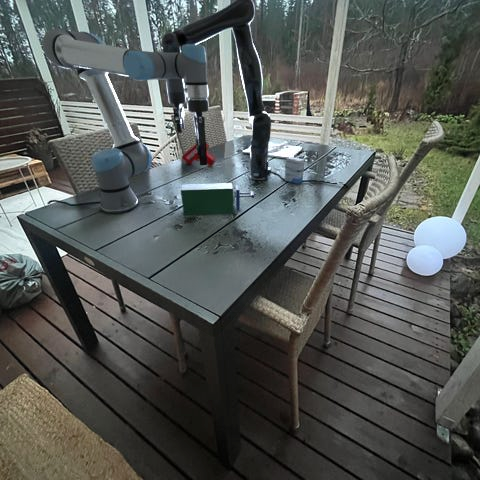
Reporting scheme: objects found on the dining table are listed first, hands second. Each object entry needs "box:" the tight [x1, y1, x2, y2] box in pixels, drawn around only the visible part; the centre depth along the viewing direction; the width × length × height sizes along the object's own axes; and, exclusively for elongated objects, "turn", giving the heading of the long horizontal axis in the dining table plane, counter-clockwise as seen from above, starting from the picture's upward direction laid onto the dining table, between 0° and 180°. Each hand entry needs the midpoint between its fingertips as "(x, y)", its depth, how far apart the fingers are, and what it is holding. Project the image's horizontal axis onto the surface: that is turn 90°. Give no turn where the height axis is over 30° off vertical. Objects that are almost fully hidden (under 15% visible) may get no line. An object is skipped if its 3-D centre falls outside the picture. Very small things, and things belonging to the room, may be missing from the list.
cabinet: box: [180, 182, 234, 216], centre depth 112 cm, size 20×6×11 cm, turn 94°
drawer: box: [235, 185, 255, 212], centre depth 112 cm, size 25×5×9 cm, turn 94°
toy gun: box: [181, 141, 216, 167], centre depth 167 cm, size 18×4×15 cm
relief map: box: [242, 138, 304, 160], centre depth 192 cm, size 27×35×5 cm
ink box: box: [284, 156, 306, 185], centre depth 140 cm, size 8×5×12 cm, turn 47°
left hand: (202, 159), depth 106 cm, fingers open, 13 cm apart
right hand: (181, 130), depth 126 cm, fingers open, 8 cm apart
